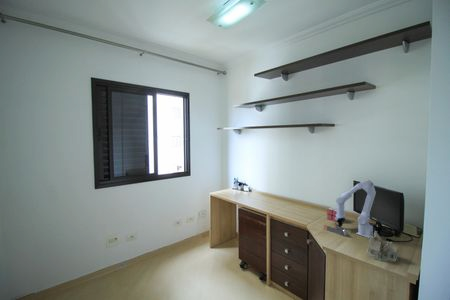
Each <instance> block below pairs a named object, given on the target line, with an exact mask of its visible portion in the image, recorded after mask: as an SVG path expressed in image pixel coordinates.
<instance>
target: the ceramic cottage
mask: <svg viewBox="0 0 450 300" xmlns="http://www.w3.org/2000/svg"><path fill="white" fill-rule="evenodd" d="M398 253H399V249H398V247H396V246H393V242H392V241H385V240H382V237H381V236H380V235H379V233H378V231H376V230H374V232H373V236H371V237H370V238H369V244H368V247H367V249H366V252H365V255H366V254H367V256H366V257H368V256H369V257H372V258H374V259H373V260H375V259H378V260H377V261H379V260H395V259H397V257H398V256H399V255H398ZM369 257H368V258H369ZM372 258H371V259H372ZM398 258H399V257H398ZM397 260H398V259H397Z"/></svg>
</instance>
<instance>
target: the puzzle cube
mask: <svg viewBox="0 0 450 300" xmlns="http://www.w3.org/2000/svg"><path fill="white" fill-rule="evenodd" d="M326 213H327V214H326V216H327V217H326V219H327V220H329V221H333V222H334V223H338V221H337V220H335V217H336V214H337V207H334V206H331V207H330V208H327V209H326Z"/></svg>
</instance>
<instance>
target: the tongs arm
mask: <svg viewBox="0 0 450 300" xmlns="http://www.w3.org/2000/svg"><path fill="white" fill-rule="evenodd" d="M333 228H336V229H339V230H342V231H343V230H346V229H345V228H344V227H343V226H342V227H341V226H339V225H338V222H334V223H333Z"/></svg>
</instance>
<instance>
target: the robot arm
mask: <svg viewBox="0 0 450 300" xmlns="http://www.w3.org/2000/svg"><path fill="white" fill-rule="evenodd" d="M358 190H364V191H365V192H366V194H367V195H366V197H365V201H364V205H363V207H362V211H361V213H360V214H359V216H358V217H357V222H358V223H357V224H358V225H357V227H358V229H357V231H358V232H356V233H355V234H356V235H359V236H362V237H365V238H368V239H370V237H371V236H373V237H374V227H373V225H371V224H370V223H369V222H370V220H371V213H370V212H371V209H372V206H373V203H374V201H375V197H376V194H377V191H376V189H375V185H374V183H373V182H372V181H371V180H370V179H364V180H362V181H360V182H358V183H357V184H355V185H354V186H353V187H352V188H351V189H349V191H347V190H345V191H344V192H343V193H341V195H339V196H338V197H336V199H335V203H336V208H337V214H336V217H335V220H337V221H338V222H337V224H338V225H339V226H341V227H342V228H343V224H344V222H345V220H346V216H347V215H346V214H345V203H346V202H347V201H348V200H349V199H350V198H352V197H353V194H354V193H356V192H357V191H358Z"/></svg>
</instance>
